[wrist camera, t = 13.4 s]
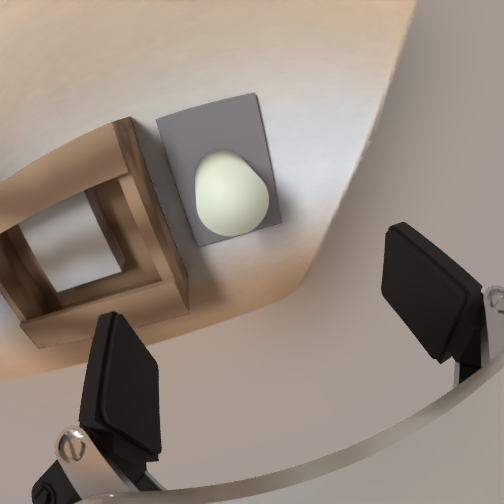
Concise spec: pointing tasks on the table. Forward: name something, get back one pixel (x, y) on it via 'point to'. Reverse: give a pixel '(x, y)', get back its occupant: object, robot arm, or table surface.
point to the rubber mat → (213, 138)
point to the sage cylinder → (229, 194)
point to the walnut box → (87, 240)
